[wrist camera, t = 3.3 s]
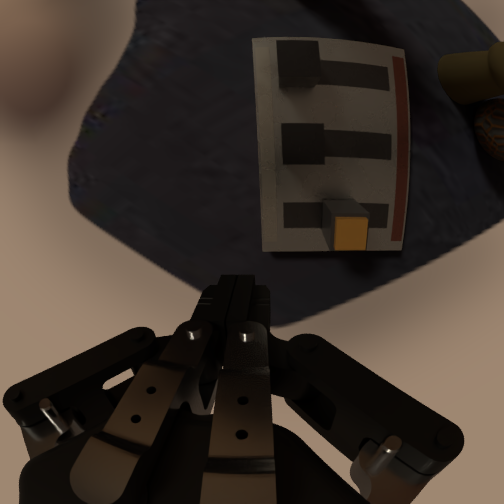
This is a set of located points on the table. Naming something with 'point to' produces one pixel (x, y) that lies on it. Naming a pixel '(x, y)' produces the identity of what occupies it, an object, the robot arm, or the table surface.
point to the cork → (473, 74)
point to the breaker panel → (330, 138)
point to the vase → (491, 127)
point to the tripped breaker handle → (345, 225)
